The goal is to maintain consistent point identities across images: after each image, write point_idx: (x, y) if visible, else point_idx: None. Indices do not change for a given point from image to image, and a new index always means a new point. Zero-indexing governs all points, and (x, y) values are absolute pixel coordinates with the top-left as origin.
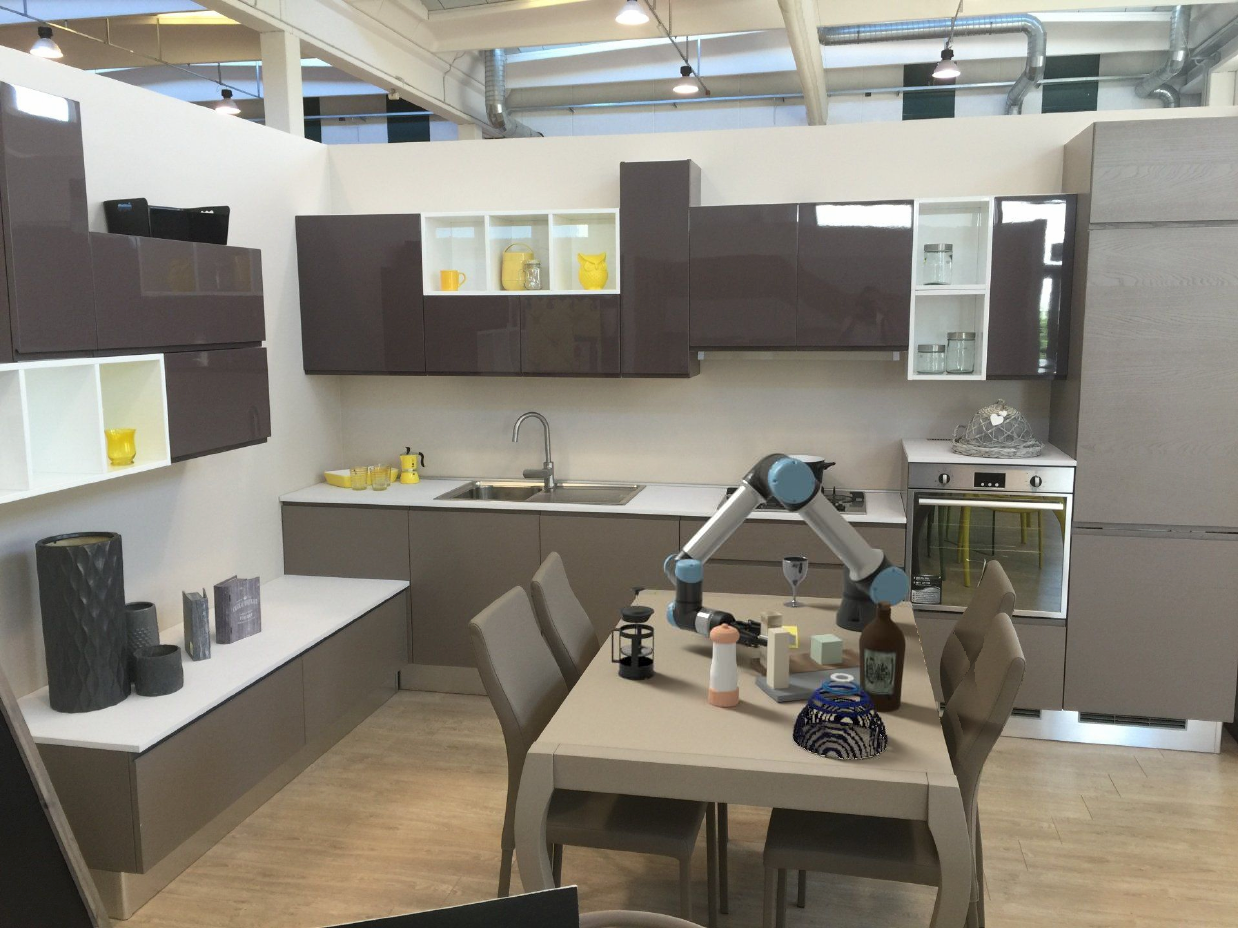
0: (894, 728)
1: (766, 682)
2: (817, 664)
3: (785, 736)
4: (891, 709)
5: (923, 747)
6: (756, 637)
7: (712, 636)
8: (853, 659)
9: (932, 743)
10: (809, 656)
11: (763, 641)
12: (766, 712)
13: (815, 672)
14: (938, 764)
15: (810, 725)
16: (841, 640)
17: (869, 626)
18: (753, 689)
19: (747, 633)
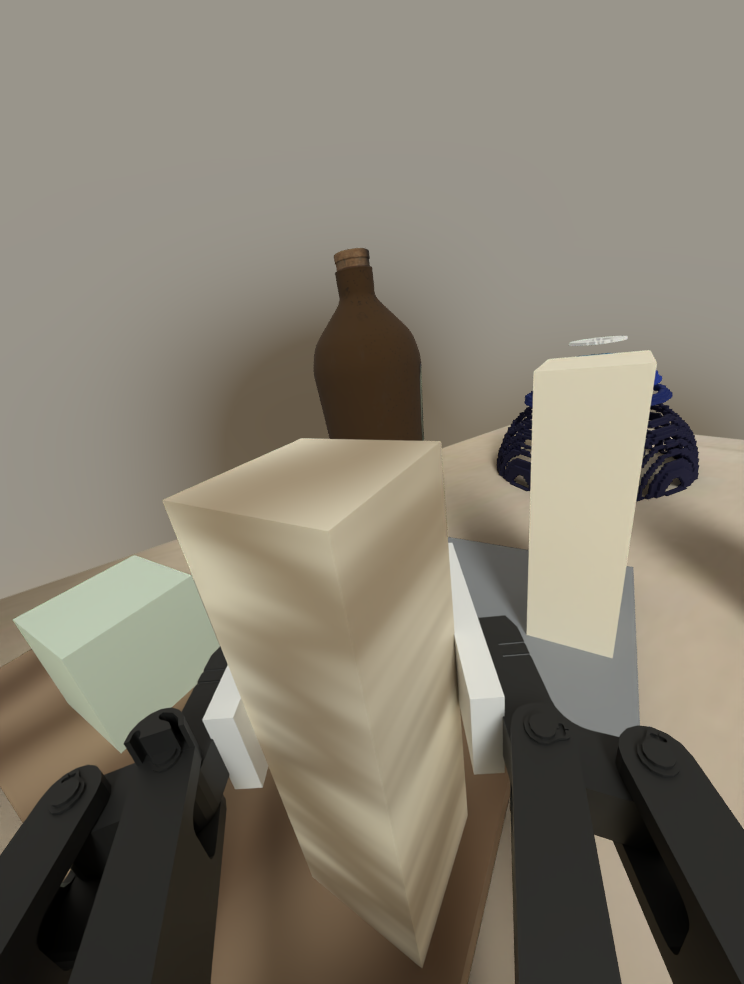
0: (461, 465)
1: (606, 666)
2: None
3: (710, 489)
4: None
5: (479, 442)
6: (549, 713)
7: None
8: None
9: (458, 444)
10: (102, 768)
11: (523, 642)
12: (714, 564)
13: None
14: (503, 428)
15: (680, 418)
16: (131, 558)
17: (388, 316)
18: (685, 729)
19: (610, 934)
